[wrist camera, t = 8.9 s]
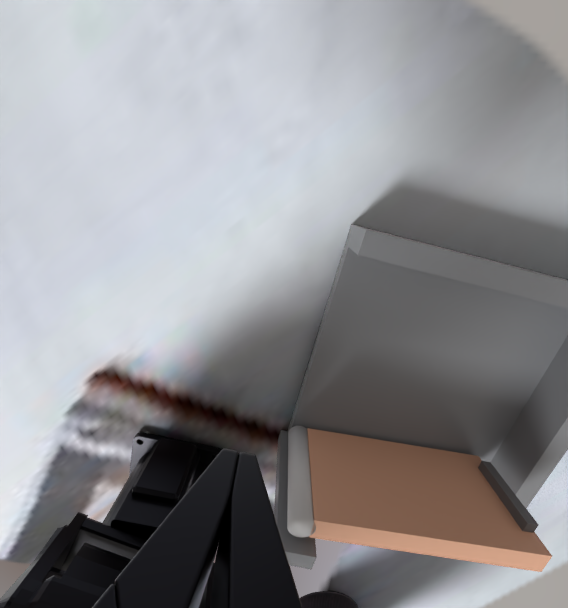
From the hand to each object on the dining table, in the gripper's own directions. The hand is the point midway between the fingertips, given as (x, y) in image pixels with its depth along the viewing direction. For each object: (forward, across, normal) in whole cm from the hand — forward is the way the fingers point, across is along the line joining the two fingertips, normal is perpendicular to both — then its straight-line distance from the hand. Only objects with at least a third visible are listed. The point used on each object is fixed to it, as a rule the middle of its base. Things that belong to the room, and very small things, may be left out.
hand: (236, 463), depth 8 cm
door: (+11, -10, +7) cm, 16 cm away
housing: (+12, -11, +2) cm, 16 cm away
